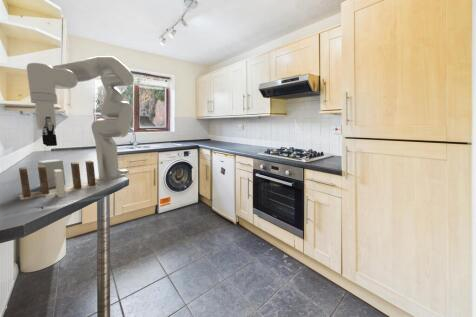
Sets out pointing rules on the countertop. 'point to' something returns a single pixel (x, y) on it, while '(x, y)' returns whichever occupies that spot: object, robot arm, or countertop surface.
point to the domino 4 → (90, 173)
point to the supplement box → (52, 170)
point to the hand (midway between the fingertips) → (50, 145)
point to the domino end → (24, 182)
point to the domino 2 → (59, 183)
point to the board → (53, 191)
